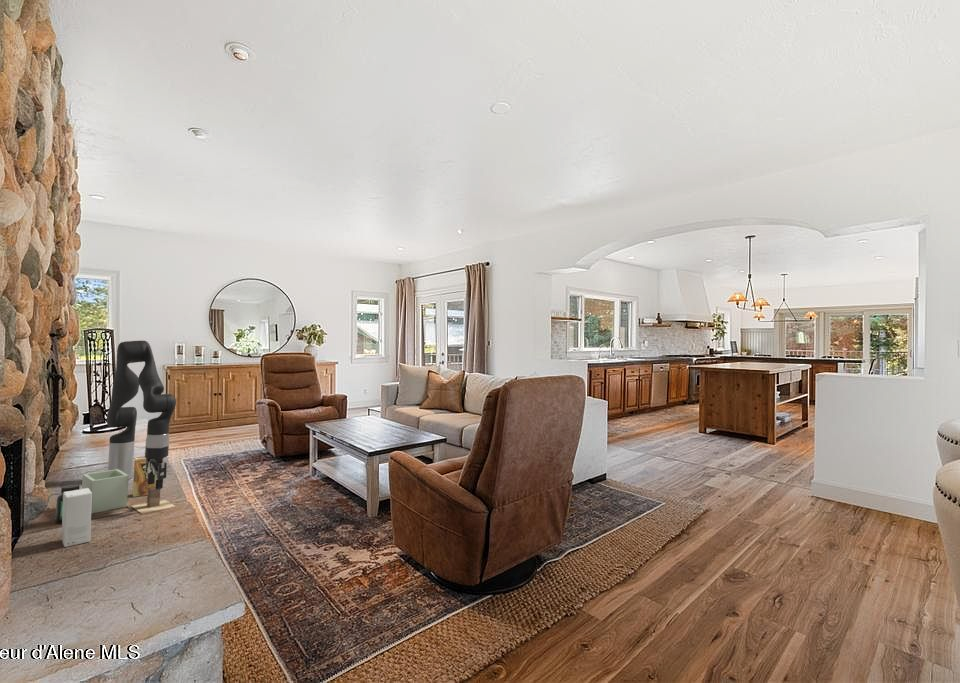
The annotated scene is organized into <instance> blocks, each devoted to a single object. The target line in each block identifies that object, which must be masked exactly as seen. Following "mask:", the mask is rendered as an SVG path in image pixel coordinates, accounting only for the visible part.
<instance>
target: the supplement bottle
mask: <svg viewBox="0 0 960 683" xmlns="http://www.w3.org/2000/svg"><path fill="white" fill-rule="evenodd" d="M80 488H81V487H80V485H79V484H67V485H63V486H61V488H60V494H59V495H58V496H57V497H56V502H55V503H56V505H55V506H56V507H55V523H57V524H62V514H63V492H67V491H73V490H79V489H80Z"/></svg>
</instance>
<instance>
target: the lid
mask: <svg viewBox="0 0 960 683" xmlns="http://www.w3.org/2000/svg"><path fill="white" fill-rule="evenodd" d="M146 496H147V497H146V498H147V499H146V502H145V501H144V502H141V503H140V502H139V503H135V504H130V507H131V508H132V509H134V510H135V511H136V512H138V513H139V514H141V515H146V514H147V515H148V514H150V513H156V512H160V511H164V509H165V510H168V508H170V509H172V508H171V507H174V508H176V507H177V506H176V505H174V504H173V503H171V502H170V501H168V500H167V499H165V498H161V489H155V487H150V488H148V495H146Z"/></svg>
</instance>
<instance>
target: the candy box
mask: <svg viewBox="0 0 960 683" xmlns="http://www.w3.org/2000/svg"><path fill="white" fill-rule="evenodd" d="M145 470H146V458H145V456H144V457H135V458H134V461H133V481H132V482H133V484H132V497H133V498H136V497H142V496H148V488H150V487H155V486H156V477H155V482H154V484H150V485H149V484H147V481H148V475H147V472H146V471H145Z"/></svg>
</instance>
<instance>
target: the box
mask: <svg viewBox="0 0 960 683" xmlns="http://www.w3.org/2000/svg"><path fill="white" fill-rule="evenodd" d="M128 478H129V475H127V474H125V473H124V472H122V471H120V470H119V469H116V470H109V471H108V470H103V471H96V472H88V473H83V474H82V483H81V484H82V485H81V489H85V488H89V490H90V491H91V493H92V503H91V514H94V513H100V512H101V513H102V512H105V511H111V510H115V509H120V508H125V507H127V505H128V494H129V479H128Z"/></svg>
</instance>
